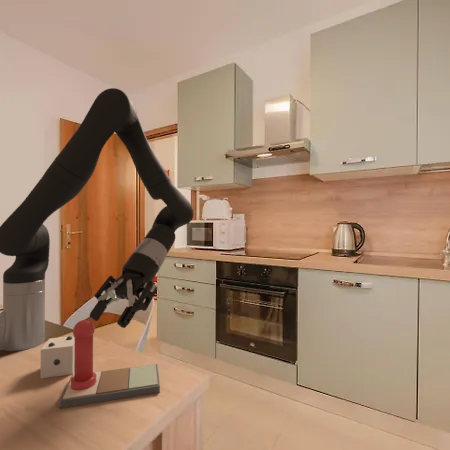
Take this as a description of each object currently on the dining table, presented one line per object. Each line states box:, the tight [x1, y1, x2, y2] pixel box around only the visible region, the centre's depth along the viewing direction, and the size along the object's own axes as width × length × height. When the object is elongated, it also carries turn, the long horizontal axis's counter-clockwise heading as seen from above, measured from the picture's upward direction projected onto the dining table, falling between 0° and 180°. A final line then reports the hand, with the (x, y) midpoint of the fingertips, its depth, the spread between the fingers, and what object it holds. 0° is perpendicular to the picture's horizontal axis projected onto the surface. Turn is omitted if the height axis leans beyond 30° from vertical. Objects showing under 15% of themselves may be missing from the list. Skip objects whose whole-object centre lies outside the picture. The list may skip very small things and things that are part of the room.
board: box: [59, 363, 161, 409], centre depth 56 cm, size 17×9×1 cm, turn 106°
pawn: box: [71, 319, 96, 390], centre depth 55 cm, size 4×4×12 cm
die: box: [40, 335, 75, 379], centre depth 63 cm, size 6×7×7 cm
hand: (106, 322), depth 59 cm, fingers open, 8 cm apart
